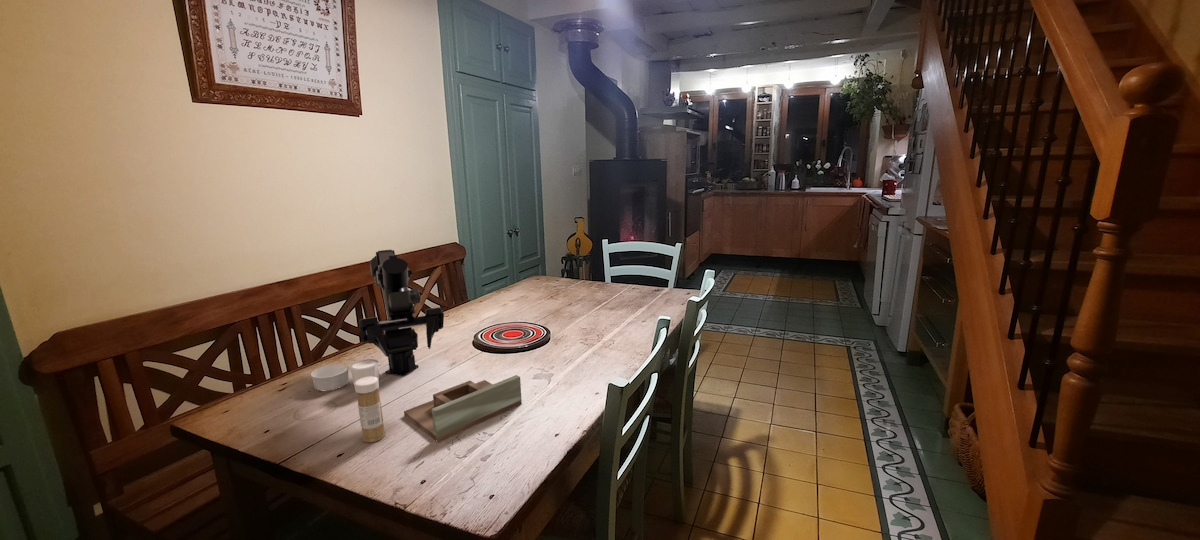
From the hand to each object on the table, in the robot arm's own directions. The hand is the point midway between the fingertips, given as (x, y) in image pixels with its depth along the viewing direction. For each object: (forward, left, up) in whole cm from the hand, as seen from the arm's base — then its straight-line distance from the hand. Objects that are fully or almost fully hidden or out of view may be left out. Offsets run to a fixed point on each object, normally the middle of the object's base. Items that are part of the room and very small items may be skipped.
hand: (408, 351), depth 113 cm
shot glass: (-20, +6, -16) cm, 26 cm away
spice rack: (+11, +4, -15) cm, 19 cm away
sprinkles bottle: (-1, -12, -16) cm, 20 cm away
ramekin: (-31, +5, -16) cm, 35 cm away
